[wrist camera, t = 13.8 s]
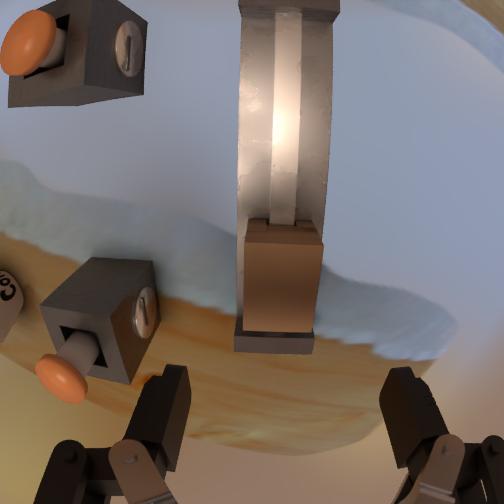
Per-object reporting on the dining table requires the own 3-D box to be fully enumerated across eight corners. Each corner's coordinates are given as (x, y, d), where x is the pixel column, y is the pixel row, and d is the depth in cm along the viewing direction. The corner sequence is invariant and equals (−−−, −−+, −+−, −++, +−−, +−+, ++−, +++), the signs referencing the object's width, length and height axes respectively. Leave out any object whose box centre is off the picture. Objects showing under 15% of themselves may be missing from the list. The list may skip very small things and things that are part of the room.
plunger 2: (59, 319, 17) (27, 356, 14) (100, 326, 17) (70, 369, 13) (73, 357, 19) (48, 396, 15) (113, 366, 19) (90, 409, 15)
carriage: (248, 218, 21) (243, 242, 17) (312, 221, 21) (323, 245, 17) (247, 295, 23) (243, 330, 19) (304, 297, 23) (311, 332, 19)
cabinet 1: (81, 38, 16) (17, 19, 9) (152, 21, 16) (101, -17, 9) (77, 106, 19) (7, 108, 12) (148, 94, 19) (90, 83, 11)
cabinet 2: (91, 257, 24) (39, 305, 17) (156, 261, 24) (115, 317, 16) (104, 314, 26) (64, 369, 19) (164, 321, 26) (135, 385, 19)
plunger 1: (48, 34, 12) (5, 24, 8) (93, 18, 11) (52, -1, 8) (43, 84, 13) (-3, 83, 9) (88, 72, 13) (42, 63, 9)
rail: (243, 2, 16) (239, -18, 13) (329, 7, 15) (339, -11, 12) (238, 327, 26) (234, 353, 23) (307, 330, 26) (311, 356, 23)
